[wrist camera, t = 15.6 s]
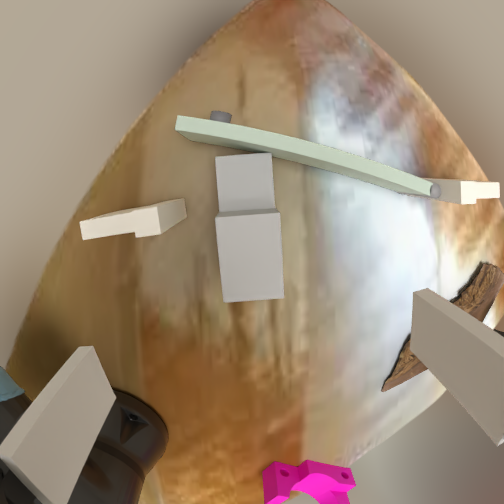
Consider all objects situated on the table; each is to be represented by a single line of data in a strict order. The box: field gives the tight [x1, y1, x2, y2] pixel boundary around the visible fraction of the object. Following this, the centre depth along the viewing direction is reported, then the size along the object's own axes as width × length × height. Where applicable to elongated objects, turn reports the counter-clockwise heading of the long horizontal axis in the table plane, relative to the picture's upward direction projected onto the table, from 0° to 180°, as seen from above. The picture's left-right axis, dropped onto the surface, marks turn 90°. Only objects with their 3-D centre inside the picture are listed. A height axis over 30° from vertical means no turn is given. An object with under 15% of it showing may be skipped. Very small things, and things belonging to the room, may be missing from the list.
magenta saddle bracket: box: [263, 460, 356, 504], centre depth 38 cm, size 15×6×8 cm, turn 59°
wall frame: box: [80, 178, 500, 240], centre depth 26 cm, size 41×2×10 cm, turn 96°
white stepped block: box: [215, 153, 284, 302], centre depth 27 cm, size 5×12×8 cm, turn 4°
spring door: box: [175, 111, 441, 199], centre depth 26 cm, size 24×3×7 cm, turn 78°
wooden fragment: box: [381, 263, 504, 392], centre depth 34 cm, size 26×11×1 cm, turn 128°
